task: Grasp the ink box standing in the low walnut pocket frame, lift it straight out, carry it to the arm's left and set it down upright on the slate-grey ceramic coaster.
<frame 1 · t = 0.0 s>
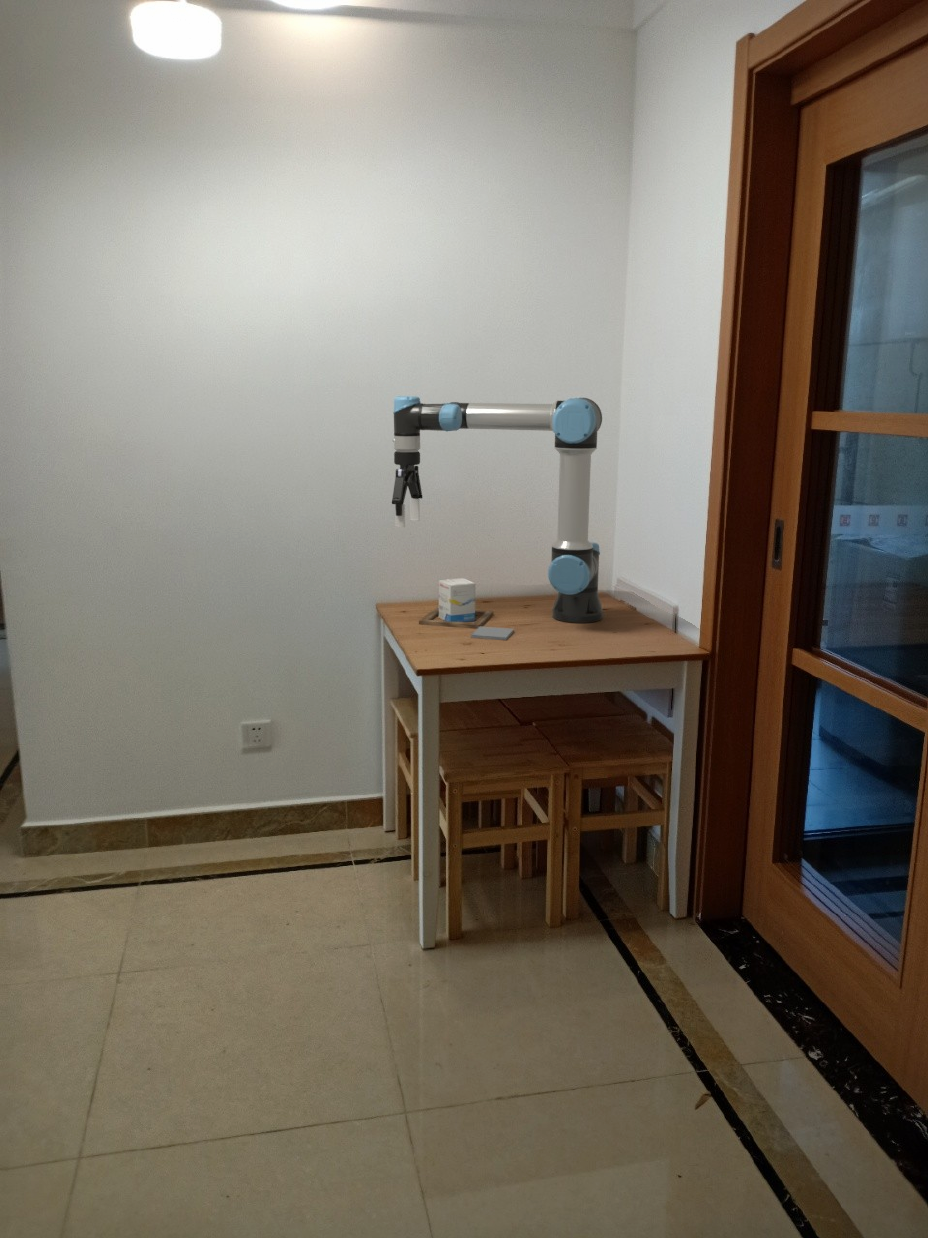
hand: (407, 523, 299), 28 cm above the table, fingers open, 13 cm apart
pocket frame: (456, 619, 302), on the table
ink box: (456, 620, 302), resting in pocket frame
coaster: (492, 634, 284), on the table
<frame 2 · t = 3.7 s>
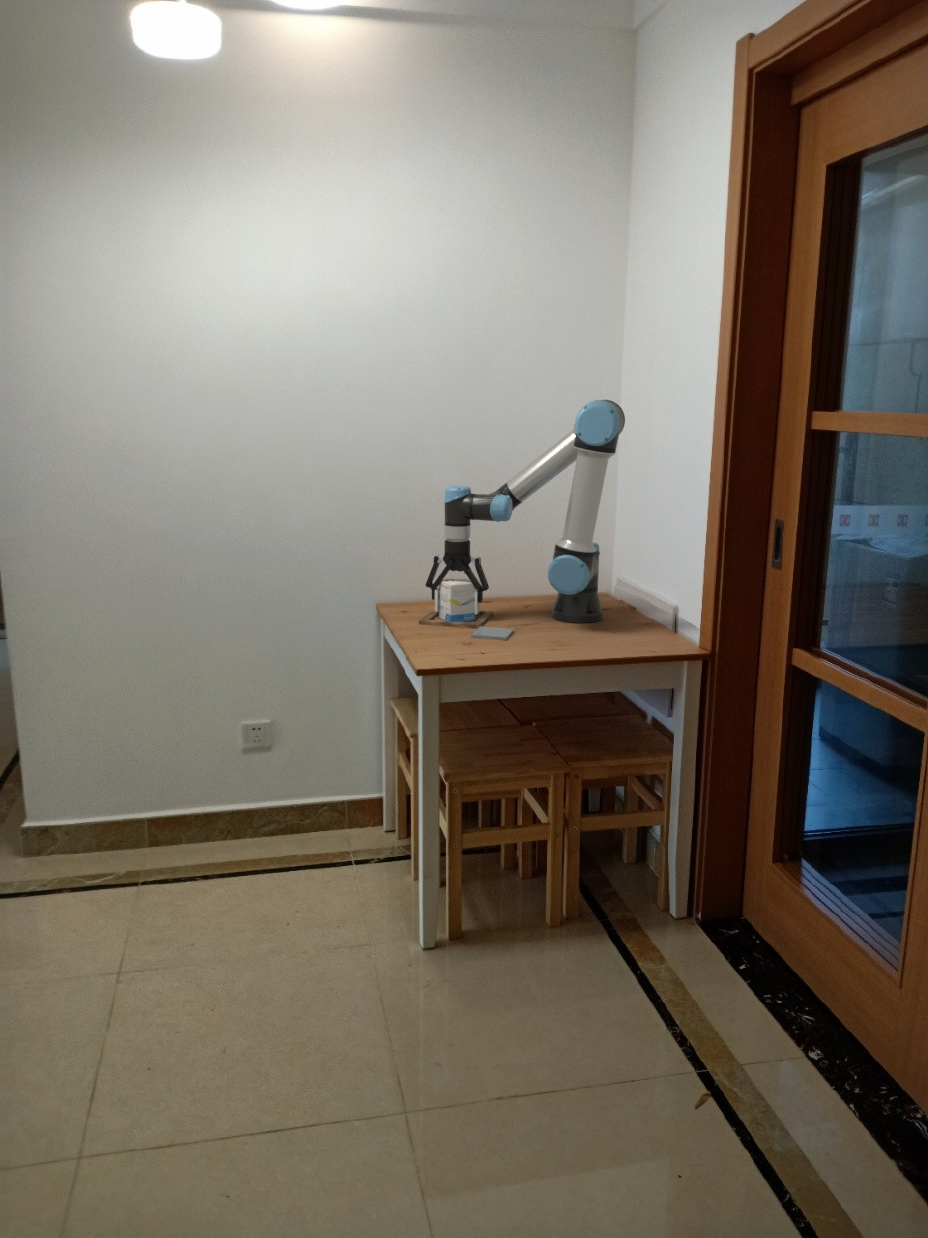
hand: (457, 612, 301), 2 cm above the table, fingers closed on ink box, 11 cm apart
ink box: (457, 620, 302), resting in pocket frame, touching gripper
when the fingers open (4 cm above the table, at t = 12.1 s): ink box drops 1 cm, resting on coaster.
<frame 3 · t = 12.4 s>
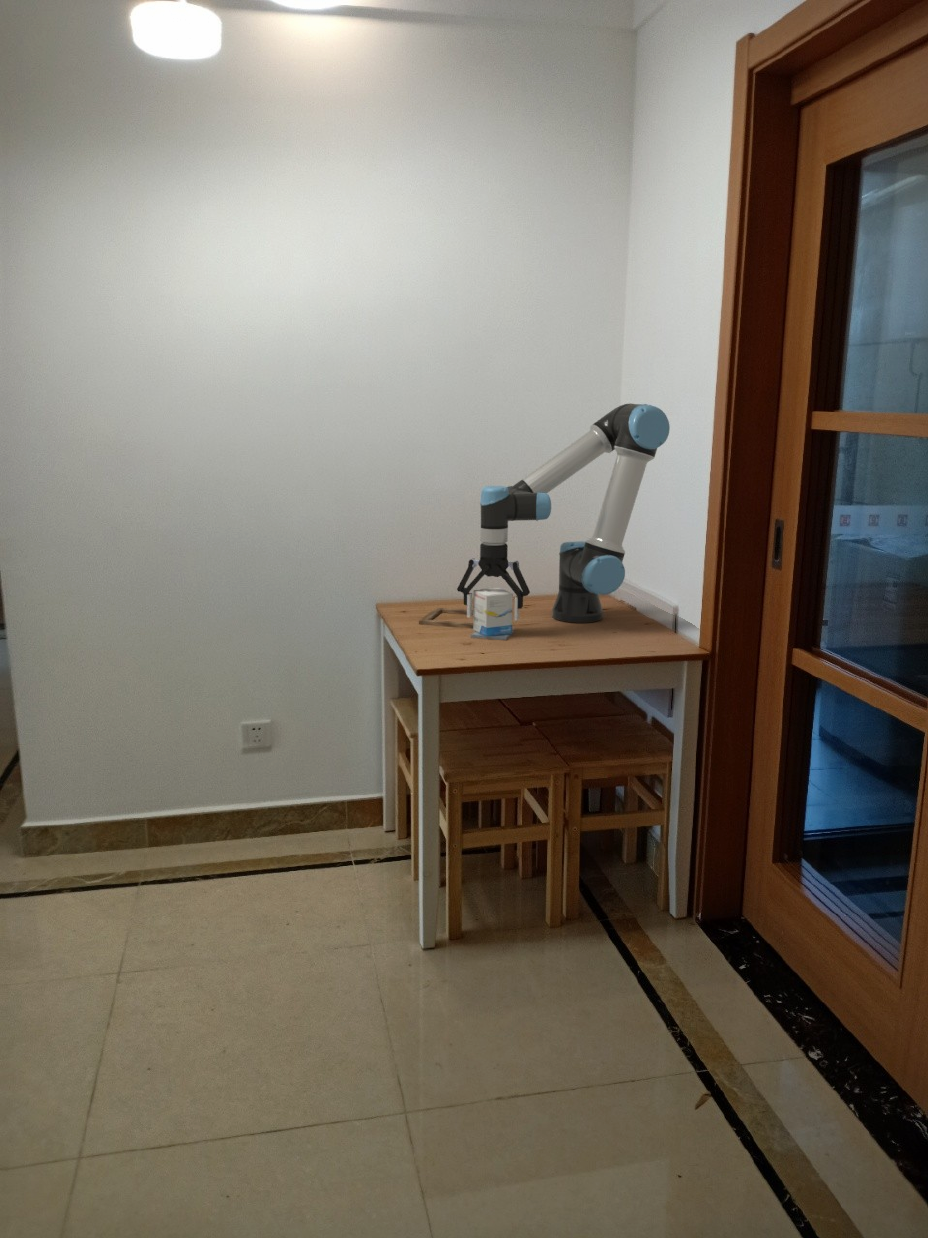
hand: (492, 618, 283), 5 cm above the table, fingers open, 13 cm apart
ink box: (492, 632, 284), point 1 cm above the table, touching coaster
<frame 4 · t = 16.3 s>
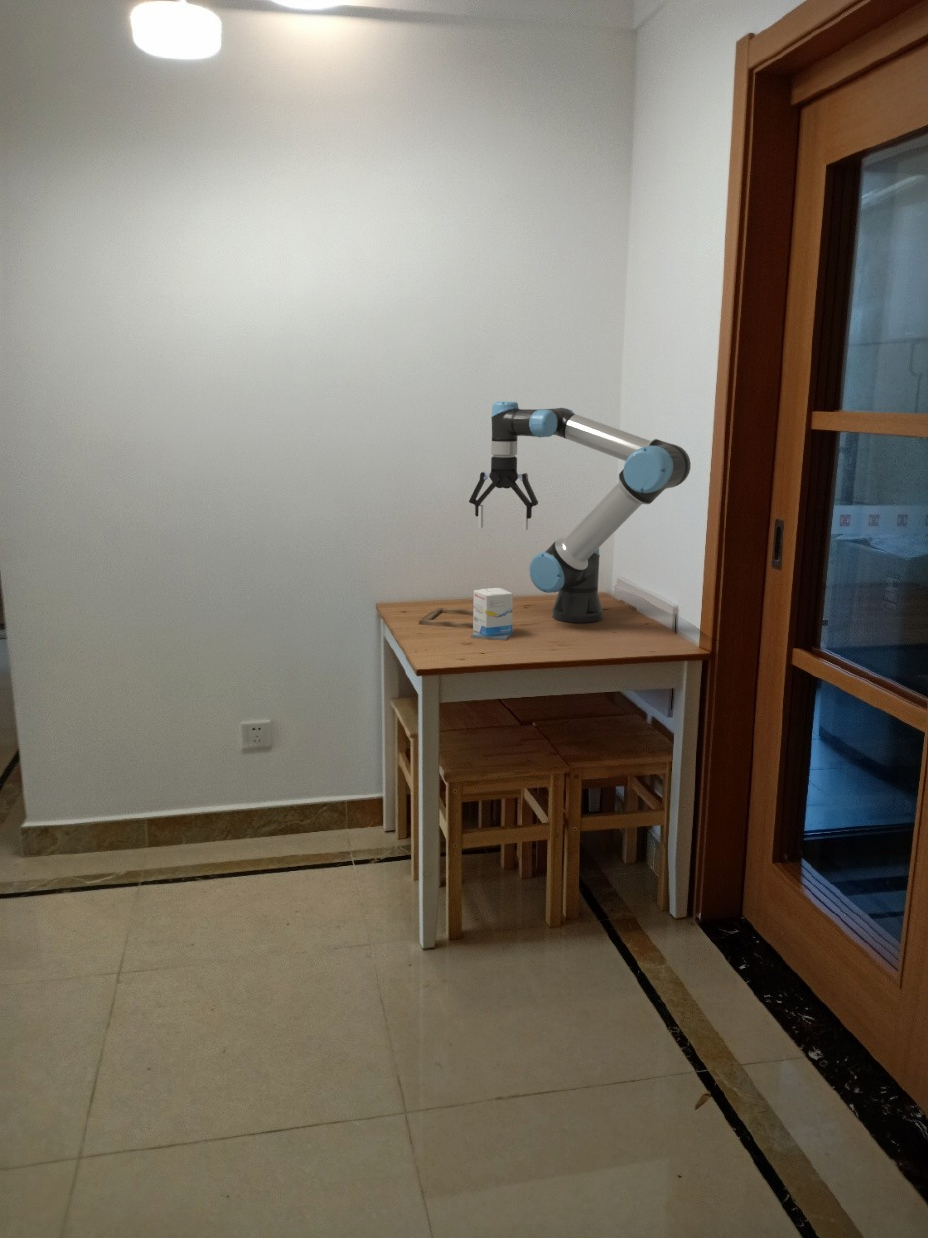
hand: (503, 528, 299), 27 cm above the table, fingers open, 13 cm apart
nothing on the table moved.
at the end: ink box 0.0 cm from the coaster (horizontally); ink box tilted 0°; ink box touching coaster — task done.
